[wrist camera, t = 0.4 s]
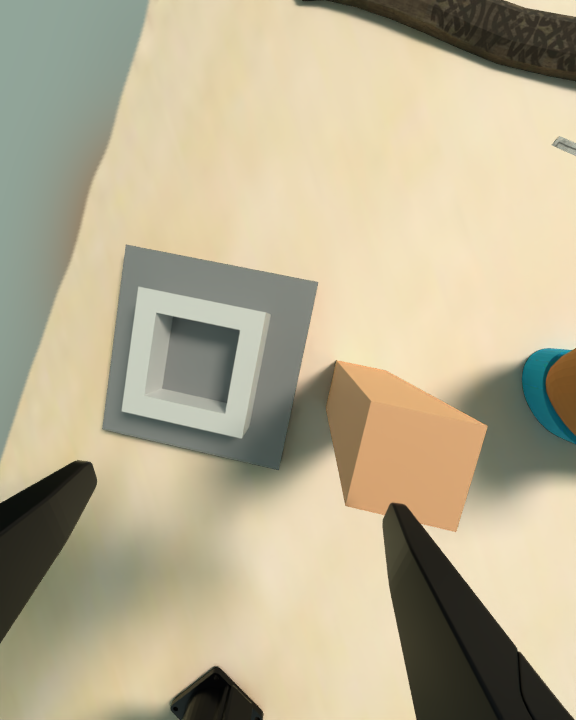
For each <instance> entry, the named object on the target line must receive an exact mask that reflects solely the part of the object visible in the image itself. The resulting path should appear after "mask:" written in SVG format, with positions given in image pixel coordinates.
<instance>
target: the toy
mask: <svg viewBox="0 0 576 720" xmlns="http://www.w3.org/2000/svg"><path fill="white" fill-rule="evenodd" d="M522 386H523V391H524V395H525V398H526V401H527V403H528V405H529V407H530V409H531V411H532V413H533V414H534V416H535V417H536V418H537V420H538V421H539V422H540V423H541V424H542V425H543V426H544V427H545V428H546V429H547V430H549V431H550V432H551V433H553V434H554V435H556V436H558V437H560V438H562V439H565V440H567V441H569V442H572V443H574V444H576V348H575V349H574V350H564V349H551V348H547V349H541V350H538V351H536V352H535V353H533V354H532V355H531V356H530V357H529V358H528V360H527V361H526V363H525V366H524V369H523V373H522Z"/></svg>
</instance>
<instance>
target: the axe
mask: <svg viewBox="0 0 576 720" xmlns="http://www.w3.org/2000/svg"><path fill="white" fill-rule="evenodd" d="M302 1H314V0H302ZM327 1H332V2H336V3H341V4H345V5H349V6H354V7H357V8H360V9H363V10H366V11H369V12H372V13H375V14H378V15H381V16H384V17H387V18H390V19H392V20H395V21H397V22H400V23H402V24H405V25H407V26H409V27H412V28H414V29H417V30H419V31H422V32H424V33H426V34H429V35H431V36H433V37H435V38H438V39H440V40H442V41H444V42H447V43H449V44H451V45H453V46H456V47H458V48H460V49H462V50H465V51H467V52H470V53H472V54H475V55H477V56H480V57H482V58H485V59H487V60H489V61H492V62H494V63H497V64H501V65H505V66H509V67H513V68H518V69H522V70H526V71H531V72H535V73H539V74H544V75H548V76H553V77H558V78H563V79H568V80H572V81H576V17H573V16H567V15H561V14H556V13H550V12H545V11H539V10H533V9H528V8H524V7H521V6H518V5H516V4H513V3H510V2H507V1H504V0H327ZM552 145H553V146H555V147H557V148H559V149H561V150H563V151H566V152H568V153H570V154H573V155H575V156H576V143H574V142H572V141H570V140H567V139H565V138H563V137H560V136H559V137H558V138H557V139H556V140H555V142H554V143H553V144H552Z"/></svg>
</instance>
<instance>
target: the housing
mask: <svg viewBox="0 0 576 720" xmlns="http://www.w3.org/2000/svg"><path fill="white" fill-rule="evenodd" d="M317 286H318V282H315V281H310V280H304V279H299V278H294V277H289V276H284V275H279V274H274V273H269V272H264V271H258V270H253V269H248V268H243V267H238V266H233V265H228V264H223V263H217V262H212V261H207V260H202V259H197V258H192V257H187V256H182V255H177V254H171V253H166V252H161V251H156V250H151V249H146V248H141V247H136V246H130V245H126V248H125V256H124V264H123V272H122V280H121V287H120V295H119V303H118V311H117V319H116V327H115V334H114V342H113V350H112V358H111V366H110V374H109V381H108V389H107V397H106V405H105V413H104V421H103V428H102V429H104V430H108V431H112V432H117V433H121V434H125V435H130V436H134V437H138V438H142V439H147V440H151V441H155V442H160V443H164V444H168V445H173V446H177V447H181V448H186V449H190V450H194V451H198V452H203V453H207V454H211V455H216V456H220V457H224V458H229V459H233V460H237V461H242V462H246V463H250V464H255V465H259V466H263V467H267V468H272V469H276V470H279V466H280V462H281V457H282V452H283V448H284V443H285V438H286V433H287V429H288V424H289V419H290V414H291V410H292V405H293V400H294V395H295V391H296V386H297V381H298V376H299V372H300V367H301V362H302V357H303V353H304V348H305V343H306V338H307V334H308V329H309V324H310V319H311V315H312V310H313V305H314V300H315V296H316V291H317Z"/></svg>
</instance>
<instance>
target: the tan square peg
mask: <svg viewBox="0 0 576 720" xmlns="http://www.w3.org/2000/svg"><path fill="white" fill-rule="evenodd" d="M326 412H327V417H328V422H329V427H330V432H331V437H332V442H333V447H334V451H335V456H336V461H337V466H338V471H339V476H340V481H341V486H342V491H343V496H344V501H345V506H348V507H352V508H357V509H361V510H365V511H369V512H374V513H378V514H382V515H385V513H386V511H387V509H388V507H389V505H390V503H392V502H394V503H401V504H405V505H406V506H407V507H408V508H409V510H410V511H411V512H412V513H413V515H414V516H415V517H416V519H417V520H418V521H419V522H420V524H424V525H429V526H433V527H437V528H441V529H446V530H450V531H454V532H456V531H457V527H458V524H459V521H460V517H461V514H462V511H463V507H464V504H465V501H466V497H467V494H468V491H469V487H470V484H471V481H472V477H473V474H474V471H475V467H476V464H477V461H478V457H479V454H480V451H481V447H482V444H483V441H484V437H485V434H486V431H487V427H488V426H487V425H485V424H483V423H481V422H479V421H477V420H476V419H474V418H472V417H470V416H468V415H466V414H465V413H463V412H461V411H459V410H457V409H455V408H454V407H452V406H450V405H448V404H446V403H444V402H443V401H441V400H439V399H437V398H435V397H433V396H432V395H430V394H428V393H426V392H424V391H422V390H421V389H419V388H417V387H415V386H413V385H411V384H410V383H408V382H406V381H404V380H402V379H400V378H399V377H397V376H395V375H393V374H391V373H389V372H388V371H385V370H380V369H376V368H371V367H366V366H361V365H356V364H352V363H347V362H342V361H337V360H336V365H335V369H334V373H333V378H332V382H331V387H330V391H329V396H328V400H327V404H326Z"/></svg>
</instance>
